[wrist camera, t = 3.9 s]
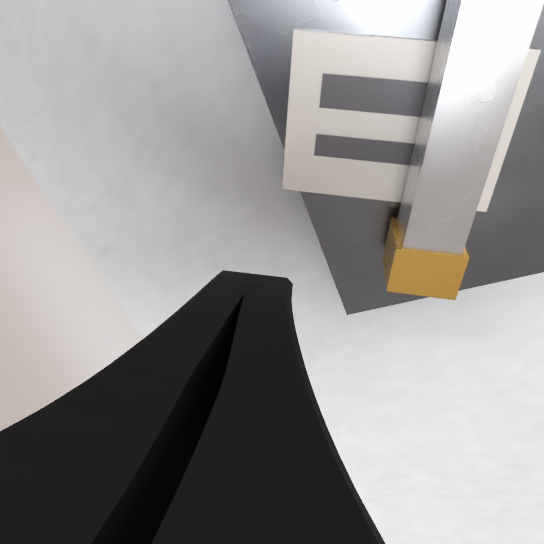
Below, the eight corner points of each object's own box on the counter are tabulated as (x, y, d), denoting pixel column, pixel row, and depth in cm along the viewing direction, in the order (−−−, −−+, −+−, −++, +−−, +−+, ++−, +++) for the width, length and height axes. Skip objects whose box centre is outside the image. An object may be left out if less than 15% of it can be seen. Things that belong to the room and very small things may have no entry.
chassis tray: (347, 303, 20) (346, 319, 19) (217, -46, 14) (207, -47, 13) (830, 194, 15) (862, 208, 14) (956, -425, 9) (1025, -472, 8)
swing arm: (465, -186, 11) (505, -244, 8) (593, -181, 10) (681, -240, 8) (374, 256, 17) (378, 310, 14) (452, 265, 17) (472, 322, 14)
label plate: (282, 186, 17) (281, 190, 16) (294, 29, 14) (293, 30, 14) (484, 208, 16) (486, 212, 16) (537, 48, 13) (541, 50, 13)
